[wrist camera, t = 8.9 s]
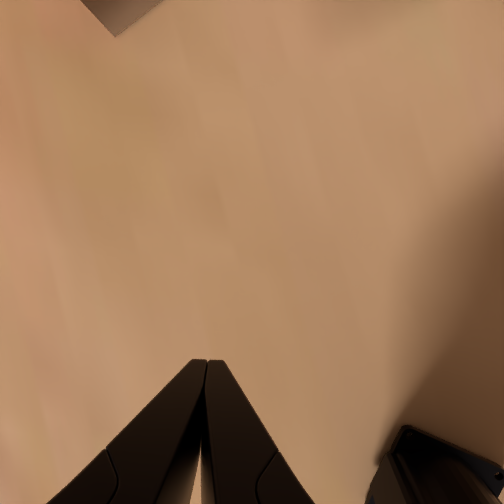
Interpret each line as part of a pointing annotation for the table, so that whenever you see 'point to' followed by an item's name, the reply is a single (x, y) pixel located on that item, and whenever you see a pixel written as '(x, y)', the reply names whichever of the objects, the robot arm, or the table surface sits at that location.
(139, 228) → the table surface
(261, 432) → the robot arm
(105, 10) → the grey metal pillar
